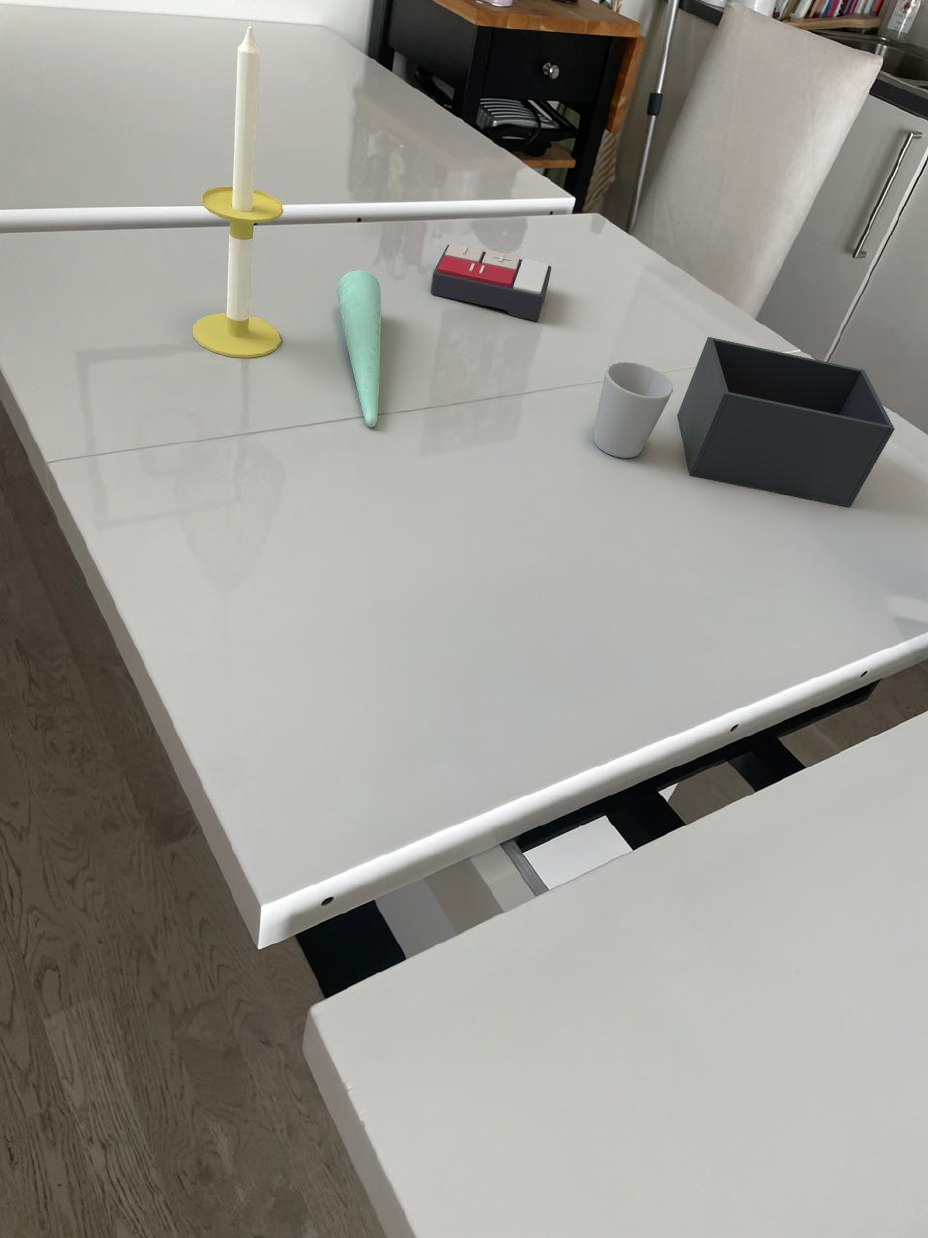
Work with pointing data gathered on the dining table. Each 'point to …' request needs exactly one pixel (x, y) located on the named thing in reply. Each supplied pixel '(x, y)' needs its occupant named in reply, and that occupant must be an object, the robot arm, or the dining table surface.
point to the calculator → (492, 280)
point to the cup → (629, 407)
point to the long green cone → (363, 335)
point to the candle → (241, 226)
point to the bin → (781, 423)
